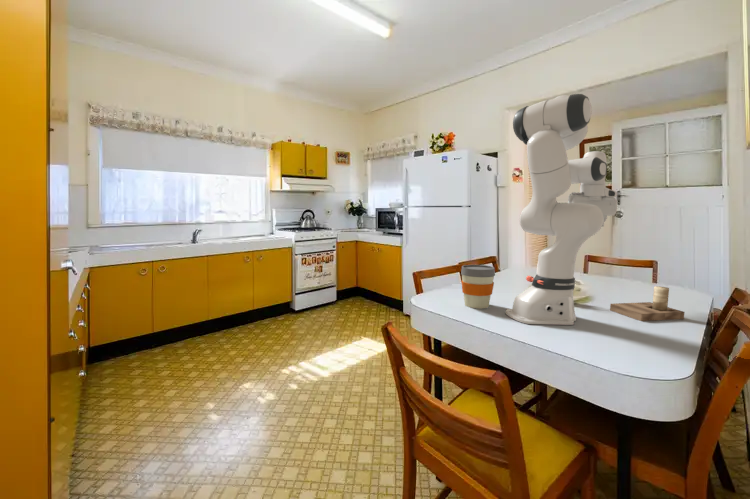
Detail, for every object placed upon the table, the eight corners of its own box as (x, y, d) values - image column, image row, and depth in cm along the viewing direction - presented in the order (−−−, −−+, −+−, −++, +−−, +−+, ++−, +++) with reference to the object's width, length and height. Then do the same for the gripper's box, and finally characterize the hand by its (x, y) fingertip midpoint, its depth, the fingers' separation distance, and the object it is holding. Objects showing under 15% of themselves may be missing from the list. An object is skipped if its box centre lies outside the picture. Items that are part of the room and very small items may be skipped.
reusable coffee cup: (458, 300, 138) (459, 264, 136) (490, 301, 136) (492, 265, 134) (461, 309, 126) (462, 269, 124) (496, 310, 124) (498, 270, 122)
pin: (660, 317, 116) (662, 289, 115) (648, 314, 119) (651, 286, 118) (669, 316, 116) (672, 288, 115) (657, 313, 120) (660, 286, 119)
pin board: (640, 321, 112) (641, 313, 112) (610, 310, 124) (610, 303, 124) (683, 319, 114) (684, 311, 114) (649, 308, 126) (649, 302, 126)
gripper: (574, 191, 133) (572, 226, 134) (620, 192, 136) (618, 226, 137) (563, 192, 139) (561, 226, 140) (608, 193, 142) (606, 226, 143)
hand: (590, 226), depth 139 cm, fingers open, 8 cm apart
